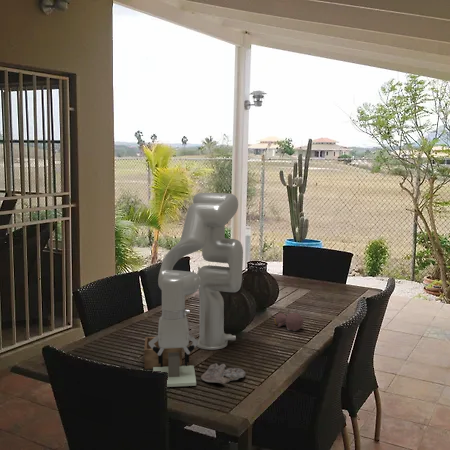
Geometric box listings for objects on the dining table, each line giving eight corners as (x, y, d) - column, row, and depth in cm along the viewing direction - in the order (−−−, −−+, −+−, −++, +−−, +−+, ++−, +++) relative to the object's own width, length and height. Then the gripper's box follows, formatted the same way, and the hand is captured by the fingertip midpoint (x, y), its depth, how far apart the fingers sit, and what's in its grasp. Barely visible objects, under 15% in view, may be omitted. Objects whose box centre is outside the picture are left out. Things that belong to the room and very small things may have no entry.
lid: (193, 368, 185) (193, 346, 183) (196, 385, 171) (196, 361, 170) (153, 369, 183) (152, 347, 182) (152, 387, 169) (152, 363, 168)
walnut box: (180, 353, 199) (180, 335, 198) (181, 367, 187) (181, 348, 186) (145, 355, 198) (145, 337, 197) (144, 369, 185) (144, 349, 184)
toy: (275, 332, 234) (301, 336, 223) (267, 319, 231) (293, 322, 220) (286, 319, 238) (311, 322, 227) (278, 306, 236) (303, 309, 224)
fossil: (243, 370, 188) (201, 374, 187) (242, 360, 187) (200, 364, 187) (247, 385, 170) (201, 389, 170) (247, 374, 170) (200, 378, 170)
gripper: (199, 309, 179) (199, 359, 181) (146, 311, 176) (147, 361, 179) (200, 316, 171) (200, 368, 174) (146, 317, 169) (147, 370, 171)
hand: (173, 364), depth 176 cm, fingers open, 7 cm apart
